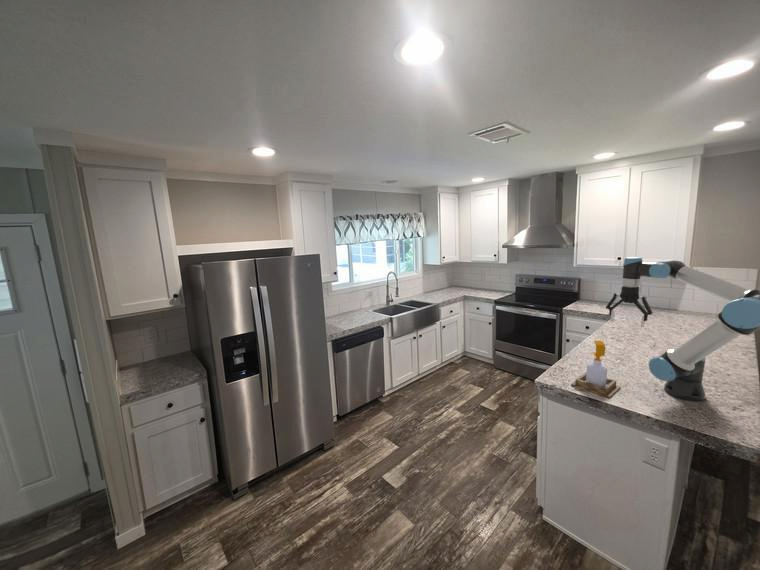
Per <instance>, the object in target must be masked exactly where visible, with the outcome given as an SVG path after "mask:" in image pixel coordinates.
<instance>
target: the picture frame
mask: <svg viewBox="0 0 760 570" xmlns="http://www.w3.org/2000/svg"><path fill="white" fill-rule="evenodd" d="M571 385H572V386H571ZM570 386H571V387H574V386H575V387H574V388H577V387H578V389H579V390H580V389H581V390H584V391H587V392H589V393H592V394H596V395H599V396H601V397H605V398H607V399H610V398H612V397H613V396H614V395H615V394H616V393H617V392H618V391H620V390H621V385H617V380H616V379H612V378H609V377H607V378H606V387H605V388H604V387H601V386H598V385H595V384H592V383H589V382H586V372H584V373H583V374H581V375H580V376H579V377H577V378H576V379H575V381H573V382H572V383H570Z"/></svg>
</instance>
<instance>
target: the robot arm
mask: <svg viewBox="0 0 760 570" xmlns="http://www.w3.org/2000/svg"><path fill="white" fill-rule="evenodd" d="M622 269H623V270H622V271H623V272H622V278H621V279H622V281H621V285H622V286H621V292H620V293H618V292H616V293H613V296H612V298H611V300H610V301H609V302H608V304H607V305H606V306H605V309H607V310H608V311H609V313H608V315H609V316H610V322H611V323H614V321H615V312H616V310H615V308H617V307H618V306H620V305H621V304H623V302H624V303H625V304H627V303H628V304H634V305H635V306H636V307H637V309H639V311H640V312H641V313H642V315H641V320H640V321H641V322H640V328H644V327H645V323H646V322H647V321H648V316H649V315H650V316H651V315H652V314H653V311H652V308H651V306H650V305H649V303H648V300H647V296H646V295H644V296H642V295H641V296H640V286H641V285H640V284H641V277H646V278H654V279H666V278H668V277H670V278H672V279H675V280H678V281H680V282H681V283H682V282H683V283H685V284H687V285H690V286H691V287H694V288H696V289H699V290H700V291H701V290H702V291H703V292H706V293H708V294H711V295H713V296H716V297H718V298H720V299H723V300H725V301H728V302H727V303H725V305H724V306H723V308H722V310H721V311H720V312H719V313H718V314H717V320H716V321H714V322H713V323H711V324H709V325H708V326H707V327H705V328H704V329H702V330H701V331H700V332H698V333H697V334H696V335H694V336H692V337H691V338H690V339H689V340H687V341H686V342H684V343H683V344H681V345H680V346H679V347H675V348H670V349H668V350H666V351H665V352H663V353H662V354H661V355H659V356H654V357H652V358H650V360H649V362H648V363H647V364H648V370H649V372H650V373H651V374H652V376H654V377H655V378H656V379H658V380H659V381H663V382H665V383H664V387H663V390H664V391H665V393H667V394H669V395H670V396H673V397H676V398H679V399H681V400H682V399H683V400H685V401H691V402H702V401H705V400H706V392H705V389H704V386H703V377H704V370H705V364H706V357H708V356H710V355H712V353H714V352H716V351H717V350H720V348H722V347H724V346H726V345H727V344H728V343H730V342H732V341H733V340H734V339H736V338H738V337H740V336H750V335H751V334H754V332H756V331H758V330H759V329H760V289H756V288H754V289H749V288H747V287H744V286H741V285H738V284H735V283H732V282H730V281H727V280H724V279H722V278H719V277H717V276H714V275H711V274H709V273H706V272H703V271H700V270H698V269H695V268H693V267H690V266H687V265H686V264H685V263H684V262H683V261H682V260H668V261H657V262H650V261H643V258H642V257H640V256H632V257H631V256H628V257H625V258H624V261H623V268H622ZM619 297H620V298H621V299H620V300H619V301H617V302H616V303H615V304H614V302H615V301H616V300H617V298H619ZM638 300H640V301H641V302H642V304H643V305H642V304H641V303H640V301H638ZM613 304H614V305H613ZM643 306H644V307H643Z"/></svg>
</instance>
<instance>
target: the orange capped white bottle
mask: <svg viewBox="0 0 760 570" xmlns="http://www.w3.org/2000/svg"><path fill="white" fill-rule="evenodd" d="M593 343H594V344H595V351H592V354H593V355H594V356H595V357H593V362H590V363H587V364H586V371H585V373H586V382H589V383H592V384H595V385H598V386H601V387H604V388H605V387H606V378H608V377H607V375H608V367H607V366H606V365H605V364H603V363H602V358H601V357H605V355H606V344H605V343H604V341H603V340H593Z"/></svg>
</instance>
